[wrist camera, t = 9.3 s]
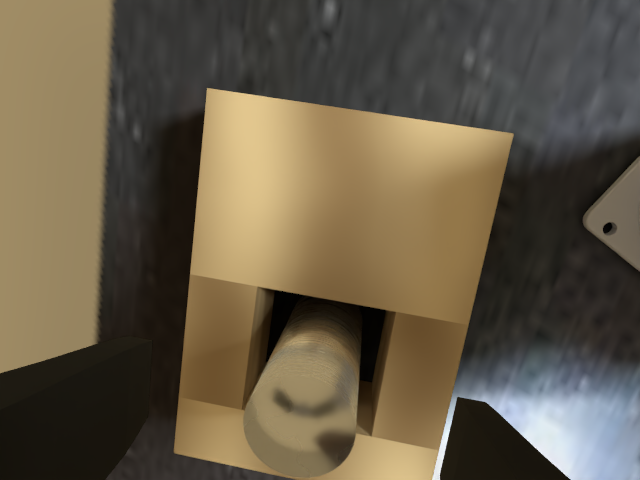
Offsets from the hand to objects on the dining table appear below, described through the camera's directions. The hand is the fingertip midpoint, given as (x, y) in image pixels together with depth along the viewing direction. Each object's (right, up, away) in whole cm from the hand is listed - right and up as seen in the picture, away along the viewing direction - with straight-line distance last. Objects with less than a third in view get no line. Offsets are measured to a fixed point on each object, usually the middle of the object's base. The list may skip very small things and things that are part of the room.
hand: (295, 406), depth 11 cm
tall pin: (+1, 0, +10) cm, 10 cm away
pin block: (+1, +2, +10) cm, 10 cm away
